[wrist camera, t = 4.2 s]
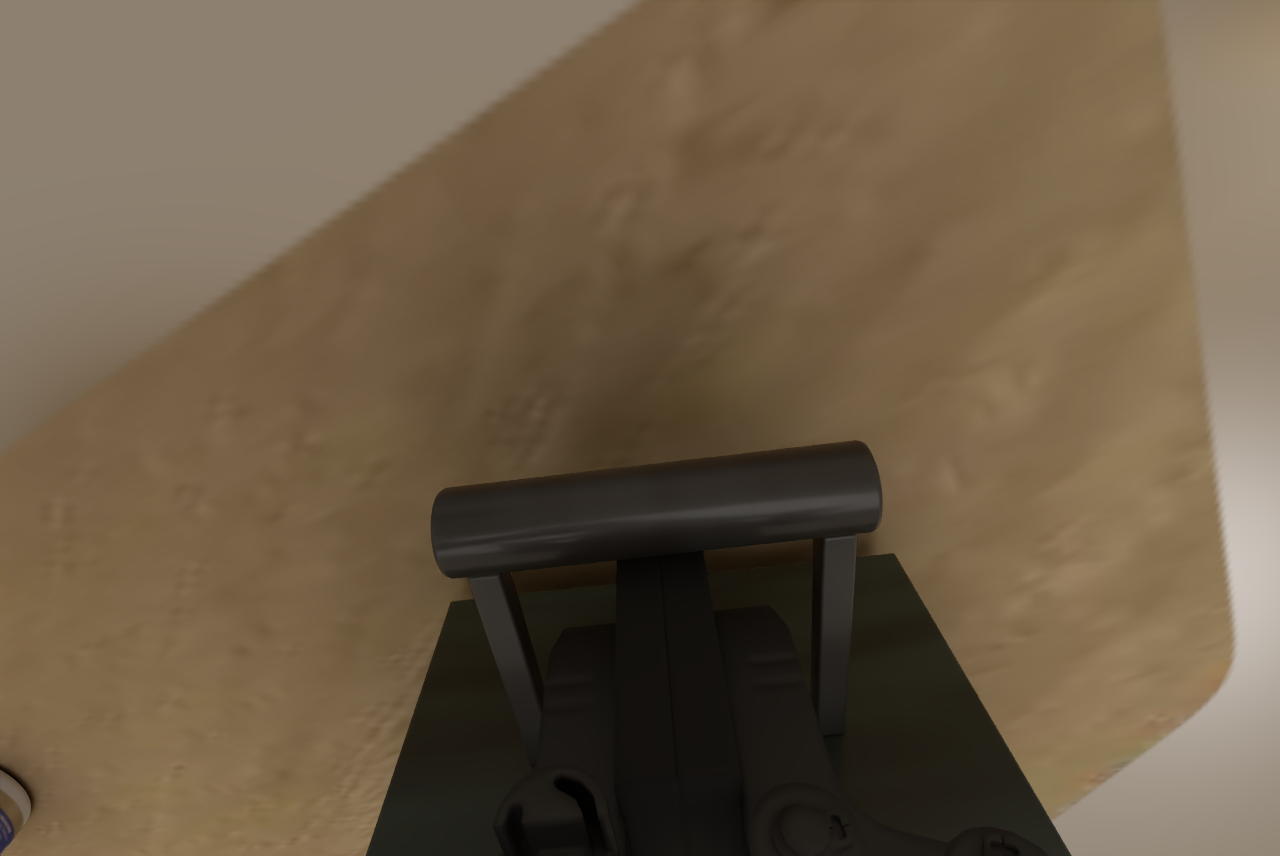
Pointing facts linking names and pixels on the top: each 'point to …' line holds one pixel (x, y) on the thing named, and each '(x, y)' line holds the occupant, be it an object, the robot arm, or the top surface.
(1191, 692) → the top surface
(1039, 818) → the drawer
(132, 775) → the top surface
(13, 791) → the pill bottle
